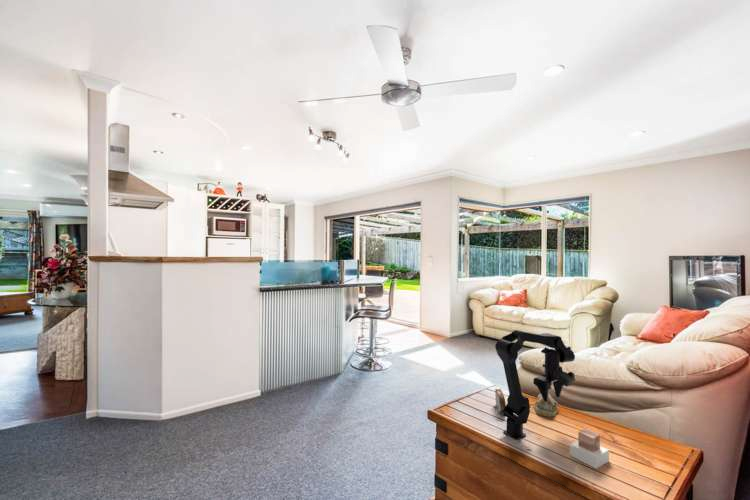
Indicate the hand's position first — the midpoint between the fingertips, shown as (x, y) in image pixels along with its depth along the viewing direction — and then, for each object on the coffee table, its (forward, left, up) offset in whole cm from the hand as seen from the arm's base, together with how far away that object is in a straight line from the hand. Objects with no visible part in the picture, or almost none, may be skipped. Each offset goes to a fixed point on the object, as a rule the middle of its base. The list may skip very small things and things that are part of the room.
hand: (551, 399), depth 142 cm
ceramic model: (+13, +11, -12) cm, 21 cm away
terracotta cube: (-10, -20, -8) cm, 24 cm away
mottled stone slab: (-6, +22, -12) cm, 26 cm away
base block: (-10, -20, -12) cm, 25 cm away
